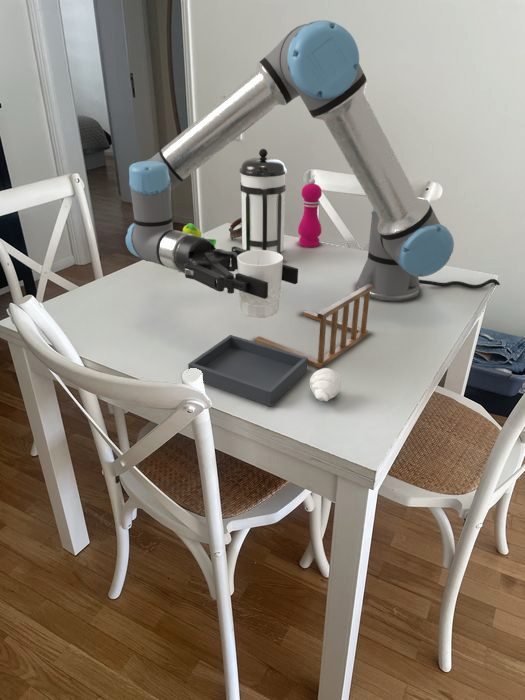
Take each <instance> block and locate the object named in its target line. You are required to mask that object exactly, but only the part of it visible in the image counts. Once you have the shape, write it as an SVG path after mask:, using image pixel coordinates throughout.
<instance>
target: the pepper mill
mask: <svg viewBox="0 0 525 700" xmlns="http://www.w3.org/2000/svg"><path fill="white" fill-rule="evenodd" d="M322 193H323V191H322V188H321V186H319V184H316V179H315V178H312V177H311V178H309V180H308V183H307V184H305V185H303V187H302V189H301V197H302V198H303V200H302V206H303V214H302V217H301V219H300V222H299V224H298V228H297V233H298V235H299V236H300V237H298V238H299V239H298V244H299V245H300V246H301V247H305V248H316V247H318V246H319V245H320V238H319V237H320V236H321V234H322V225H321V221H320V219H319V214H318V209H319V206H320V198H321V197H322Z"/></svg>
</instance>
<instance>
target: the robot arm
mask: <svg viewBox="0 0 525 700" xmlns="http://www.w3.org/2000/svg"><path fill="white" fill-rule="evenodd" d="M367 84H368V78H367V77H366V74H365V72H364V70H363V69H362V66H361V65H360V53H359V48H358V45H357V42H356V41H355V38H354V36H353V35H352V33H350V31H349V30H347V29H346V28H345V27H343V26H342V25H340V24H338V23H336V22H333V21H330V20H324V19H322V20H313V21H311V22H308V23H303V24H300V25H298V26H296V27H295V28H293V29H292V30H290V31H289V32H288V33H287V34H286V35H285V36H284V37H283V38H282V39H281V41H280V42H279V43H278V44H277V45H276V46H275V47H273V49H272V50H271V51H270V52H268V53H267V54H266V55H265V56H264V57H263V58H262V59H261V60H260V61H258V62H257V64H256V70H255V72H253V73H252V74H251V75H250V76H249V77H247V78H246V79H245V80H244V81H243V82H242V83H240V84H239V85H238V86H237V87H235V88H234V89H233V90H231V91H230V93H228V94H227V95H226V96H225V97H223V98H222V99H221V100H220V101H218V102H217V103H216V104H215V105H213V106H212V107H211V108H209V110H207V111H205V113H203V114H202V115H201V116H200V117H199V118H197V120H195V121H194V122H193V123H192V124H190V125H189V126H188V127H187V128H185V130H183V131H182V132H181V133H179V134H178V135H177V136H176V137H174V139H172V140H171V141H170V142H169V143H167V144H165V146H164V147H163V148H161V150H160V151H158V152H157V153H155V154H154V155H153V156H152V157H151V158H149V159H145V160H143V161H137V162H134V163H132V164H130V166H129V168H128V174H129V175H128V176H129V177H128V178H129V181H128V185H129V188H130V195H131V204H132V211H133V220H134V221H133V222H132V224H130V226H128V228H127V233H126V236H125V246H126V247H127V249H128V251H129V252H130V253H131V254H132V255H133V256H134V257H138V258H140V259H141V260H142V261H145V262H148V263H149V262H150V263H154V264H157V265H160V266H163V267H166V268H169V269H171V270H174V271H177V272H178V273H182V274H184V277H185V278H186V279H188V280H189V279H190V280H193V281H196V282H198V283H201V284H202V285H204V286H207V287H209V288H210V289H212V290H214V291H217V292H219V293H222V292H224V291H225V289H226V290H227V291H226V292H227V294H231V295H232V294H235V290H238V291H239V290H240V291H243V292H246V293H249V294H252V295H255V296H258V297H260V298H263V299H266V298H268V282H265V281H262V280H259V279H256V278H252V277H249V276H246V275H243V274H240V273H238V272H237V273H235V275H234V273H232V272H235V271H236V270H237V271H238V265H237V256H238V255H239V254H241V253H243V252H246V251H249V250H244V249H243V248H241V247H238V246H237V245H236V246H235V245H234V246H231V250H230V251H228V250H224V249H221V248H216V246H215V247H214V245H213V244H212V242H211V241H209V240H208V239H209V238H205V237H203V236H201V237H198V236H194V235H192V234H189V233H185V232H183V231H181V230H176V229H175V228H174V224H173V223H174V221H173V211H172V210H173V209H172V190H174V189H175V188H176V187H177V186H178V185H179V184H181V183H182V182H183V181H185V179H187V178H188V177H189V176H190V175H191V174H193V173H194V172H195V171H196V170H198V169H199V168H200V167H201V166H203V165H204V164H205V163H207V162H208V161H209V160H211V158H213V157H214V156H215V155H217V154H218V153H219V152H221V151H222V150H223V149H224V148H225V147H227V146H228V145H230V144H231V143H232V142H233V141H235V139H238V137H239V136H241V135H242V134H243V133H244V132H245V131H247V130H249V129H250V127H252V126H253V125H254V124H256V123H257V122H258V121H260V119H262V118H263V117H264V116H266V115H267V114H269V113H270V112H271V111H272V110H273V109H275V108H276V107H277V106H287V105H288V104H289V103H291V102H292V101H293V100H294V99H296V98H298V97H300V99H301V100H302V102H303V103H304V105H305V107H306V109H307V110H308V112H309V114H310V115H311V117H312V119H316V120H320V121H323V122H324V123H325V125H326V127H327V129H328V130H329V132H330V134H331V135H332V138H333V139H334V140H335V143H336V144H337V146H338V148H339V150H340V152H341V153H342V155H343V157H344V159H345V160H346V162H347V164H348V165H349V167H350V169H351V171H352V173H353V174H354V176H355V178H356V179H357V182H358V183H359V185H360V187H361V188H362V190H363V192H364V193H365V196H366V197H367V199H368V201H369V202H370V204H371V207H372V211H371V218H370V219H371V221H370V230H369V240H368V252H367V259H366V261H365V263H364V266H363V268H362V270H361V273H360V274H359V277H358V280H357V288H356V289H357V290H358V289H360V288H362V287H364V286H365V285H367V284H371V285H373V290H371V291H370V298H371V299H374V300H379V301H384V302H404V301H408V300H412V299H414V298H416V297H417V296H418V295H419V293H420V284H421V285H430V286H435V287H451V286H460V287H464V288H468V289H473V290H476V289H482V288H484V287H486V286H488V285H490V284H492V283H493V284H494V285H496V286H501V283H500V282H499V281H498V280H497V279H495V278H490V279H488V280H486V281H484V282H482V283H478V284H471V283H467V282H464V281H458V280H452V281H447V282H440V281H433V280H427V279H426V280H425V279H420V278H419V277H421V278H422V277H429V276H431V275H434V274H436V273H438V272H439V271H441V269H443V268H444V267H445V266H446V265H447V263H448V262H449V261H450V259H451V256H452V255H453V252H454V248H455V241H454V237H453V235H452V233H451V232H450V230H449V229H448V228H447V227H446V226H445V225H443V224H441V222H440V221H439V219H438V217H437V215H436V213H435V211H434V209H433V207H432V205H431V204H430V201H429V200H428V199H426V198H423V197H418V195H417V192H416V191H415V189H414V187H413V186H412V183H411V182H410V180H409V178H408V176H407V174H406V172H405V170H404V168H403V166H402V165H401V162H400V160H399V158H398V156H397V154H396V152H395V151H394V148H393V147H392V145H391V143H390V141H389V139H388V137H387V135H386V132H385V131H384V129H383V128H382V126H381V123H380V122H379V120H378V117H377V116H376V113H375V112H374V110H373V108H372V106H371V104H370V102H369V100H368V98H367V96H366V94H365V91H366V87H367ZM282 281H283V282H285V283H290V284H293V285H297V284H298V283H299V268H298V267H294V266H290V265H287V264H284V263H283V266H282ZM370 298H369V299H370Z"/></svg>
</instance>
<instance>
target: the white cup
mask: <svg viewBox="0 0 525 700" xmlns="http://www.w3.org/2000/svg"><path fill="white" fill-rule="evenodd" d="M281 254H282V253H281ZM281 254H279V253H277V252H273V251H268V250H252V251H246V252H243V253H241V254H239V255H238V256H237V265H238V270H237V273H240V274H243V275H246V276H249V277H252V278H256V279H259V280H262V281H265V282H268V298H266V299H263V298H260V297H258V296H255V295H252V294H249V293H246V292H243V291H240V290H238V291H239V298H240V311H241V312H242V314H243V315H245V316H247V317H251V318H256V319H265V318H269V317H273V316H275V315H277V314H278V311H279V309H280V298H281V290H282V281H283V280H282V266H283V264H284V260H283V259H284V256H283V254H282V255H281Z"/></svg>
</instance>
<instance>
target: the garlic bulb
mask: <svg viewBox="0 0 525 700" xmlns="http://www.w3.org/2000/svg"><path fill="white" fill-rule="evenodd" d="M309 388H310V391H311V392H312V394H313V396H314V397H315V398H316V400H317V401H320V402H328V401H329V400H332V399H333V398H335V397H336V396H337V395H338V394H339V393H340V392H341V389H342V379H341V376H340V375H339V374H338V373H337V372H336V371H335V370H334V369H332V368H329V367H322V368H319V369H318V370H316V371H314V372H313V373H312V375H311V376H310V379H309Z"/></svg>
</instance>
